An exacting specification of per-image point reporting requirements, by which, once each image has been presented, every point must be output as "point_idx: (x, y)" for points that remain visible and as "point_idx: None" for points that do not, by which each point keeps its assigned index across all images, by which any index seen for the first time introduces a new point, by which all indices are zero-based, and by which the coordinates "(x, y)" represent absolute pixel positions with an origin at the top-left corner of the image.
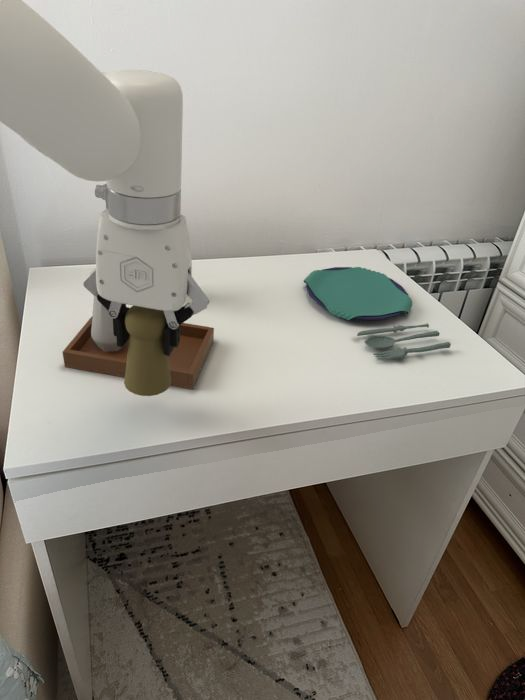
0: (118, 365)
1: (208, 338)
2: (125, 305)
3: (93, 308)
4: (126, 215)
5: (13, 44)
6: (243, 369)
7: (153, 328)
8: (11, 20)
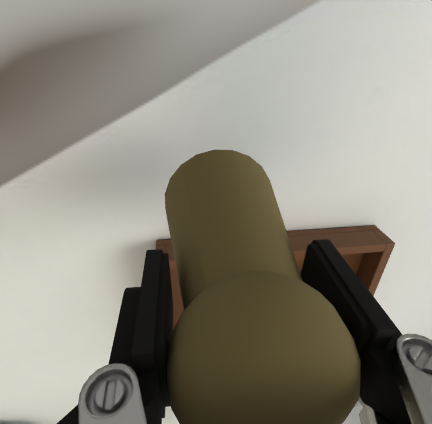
0: (294, 245)
1: None
2: (371, 408)
3: None
4: None
5: None
6: (95, 303)
7: (207, 339)
8: None
